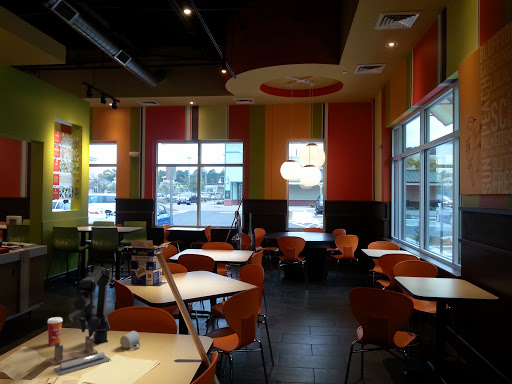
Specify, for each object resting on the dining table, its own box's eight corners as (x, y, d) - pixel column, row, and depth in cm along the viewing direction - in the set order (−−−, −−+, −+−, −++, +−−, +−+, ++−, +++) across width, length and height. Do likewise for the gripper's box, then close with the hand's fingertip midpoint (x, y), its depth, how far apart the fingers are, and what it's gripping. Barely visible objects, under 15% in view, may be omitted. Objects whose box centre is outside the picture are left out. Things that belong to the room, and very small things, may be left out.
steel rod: (102, 357, 191) (102, 351, 191) (104, 358, 189) (104, 352, 189) (60, 369, 177) (60, 362, 177) (62, 371, 175) (62, 364, 175)
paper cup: (55, 347, 205) (56, 321, 205) (43, 345, 206) (44, 320, 207) (65, 342, 213) (66, 317, 213) (53, 340, 214) (54, 316, 215)
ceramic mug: (118, 347, 205) (119, 333, 205) (129, 343, 212) (130, 329, 213) (133, 351, 200) (133, 337, 201) (143, 346, 208) (144, 332, 208)
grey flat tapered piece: (103, 355, 195) (103, 354, 195) (111, 360, 188) (111, 359, 188) (53, 369, 177) (53, 368, 177) (60, 375, 171) (60, 374, 171)
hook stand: (91, 350, 202) (92, 334, 202) (97, 354, 196) (98, 337, 196) (49, 361, 187) (49, 343, 187) (54, 366, 181) (55, 348, 181)
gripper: (64, 303, 193) (63, 333, 193) (78, 311, 180) (77, 344, 180) (86, 299, 201) (85, 328, 201) (101, 306, 188) (100, 338, 188)
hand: (86, 334), depth 192 cm, fingers open, 9 cm apart
